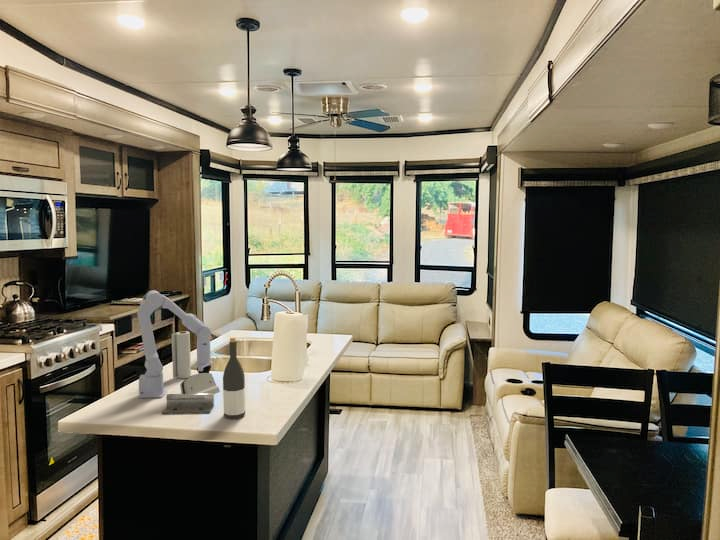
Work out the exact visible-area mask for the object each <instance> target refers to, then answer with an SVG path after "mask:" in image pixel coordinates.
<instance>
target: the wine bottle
mask: <svg viewBox="0 0 720 540" xmlns="http://www.w3.org/2000/svg"><path fill="white" fill-rule="evenodd" d="M228 343H229V360H228V361H227V363H226V365H225V367H224V371H223V376H222V390H223V391H222V392H223V393H222V396H223V416H224V418H226V419H228V420H238V419H241V417H242V418H244V417H245V415H246V389H245V388H246V387H245V386H246V384H245V383H246V382H245V377H246V375H245V372H244V368H243V366H242V364H241V362H240V361H239V358H238V356H237V339H236V337H234V336H233V337H230V338H229V342H228Z"/></svg>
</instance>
